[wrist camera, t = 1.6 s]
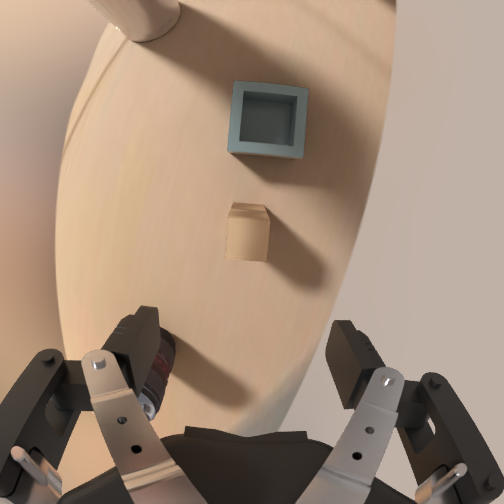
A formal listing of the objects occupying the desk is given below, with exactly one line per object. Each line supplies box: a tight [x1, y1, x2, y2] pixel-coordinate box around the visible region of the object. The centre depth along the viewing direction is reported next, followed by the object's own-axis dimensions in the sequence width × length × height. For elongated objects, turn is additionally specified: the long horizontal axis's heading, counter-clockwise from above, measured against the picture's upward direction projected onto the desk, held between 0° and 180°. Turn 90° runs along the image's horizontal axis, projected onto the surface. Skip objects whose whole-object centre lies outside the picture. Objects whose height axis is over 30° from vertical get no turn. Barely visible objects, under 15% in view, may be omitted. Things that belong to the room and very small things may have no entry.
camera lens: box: [136, 327, 176, 421], centre depth 35 cm, size 8×8×15 cm
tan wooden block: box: [225, 203, 271, 262], centre depth 32 cm, size 4×4×11 cm
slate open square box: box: [227, 81, 309, 159], centre depth 30 cm, size 8×8×6 cm
